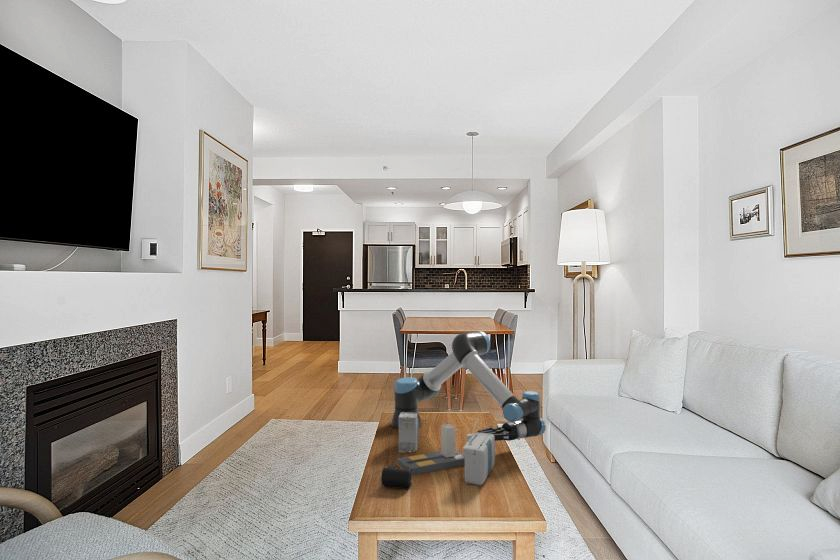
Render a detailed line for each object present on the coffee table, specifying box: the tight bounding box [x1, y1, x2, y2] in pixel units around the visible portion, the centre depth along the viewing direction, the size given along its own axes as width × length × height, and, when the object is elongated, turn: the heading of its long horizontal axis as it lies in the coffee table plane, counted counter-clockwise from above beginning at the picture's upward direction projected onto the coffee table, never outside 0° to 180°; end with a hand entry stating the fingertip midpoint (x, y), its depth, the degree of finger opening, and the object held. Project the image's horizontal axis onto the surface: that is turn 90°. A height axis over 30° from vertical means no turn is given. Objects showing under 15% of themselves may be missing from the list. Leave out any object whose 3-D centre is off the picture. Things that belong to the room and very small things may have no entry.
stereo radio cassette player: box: [461, 415, 496, 487], centre depth 183 cm, size 21×8×20 cm, turn 160°
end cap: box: [380, 465, 413, 490], centre depth 172 cm, size 10×7×7 cm
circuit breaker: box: [397, 412, 420, 453], centre depth 214 cm, size 8×14×15 cm, turn 174°
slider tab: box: [440, 423, 457, 458], centre depth 196 cm, size 5×4×12 cm
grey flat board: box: [396, 449, 465, 476], centre depth 193 cm, size 12×26×3 cm, turn 116°
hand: (467, 438), depth 199 cm, fingers closed
